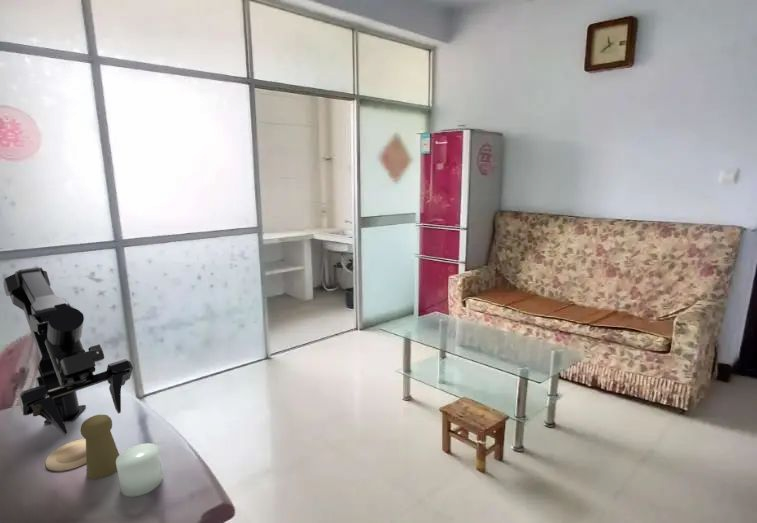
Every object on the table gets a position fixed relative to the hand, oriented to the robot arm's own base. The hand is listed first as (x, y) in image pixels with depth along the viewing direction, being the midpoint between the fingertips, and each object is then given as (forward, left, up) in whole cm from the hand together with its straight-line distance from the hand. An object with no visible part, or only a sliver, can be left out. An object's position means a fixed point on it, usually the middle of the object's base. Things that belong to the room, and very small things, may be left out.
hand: (93, 422), depth 85 cm
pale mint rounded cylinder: (+7, +10, -10) cm, 16 cm away
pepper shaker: (+1, +1, -10) cm, 10 cm away
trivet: (-5, -7, -9) cm, 13 cm away
